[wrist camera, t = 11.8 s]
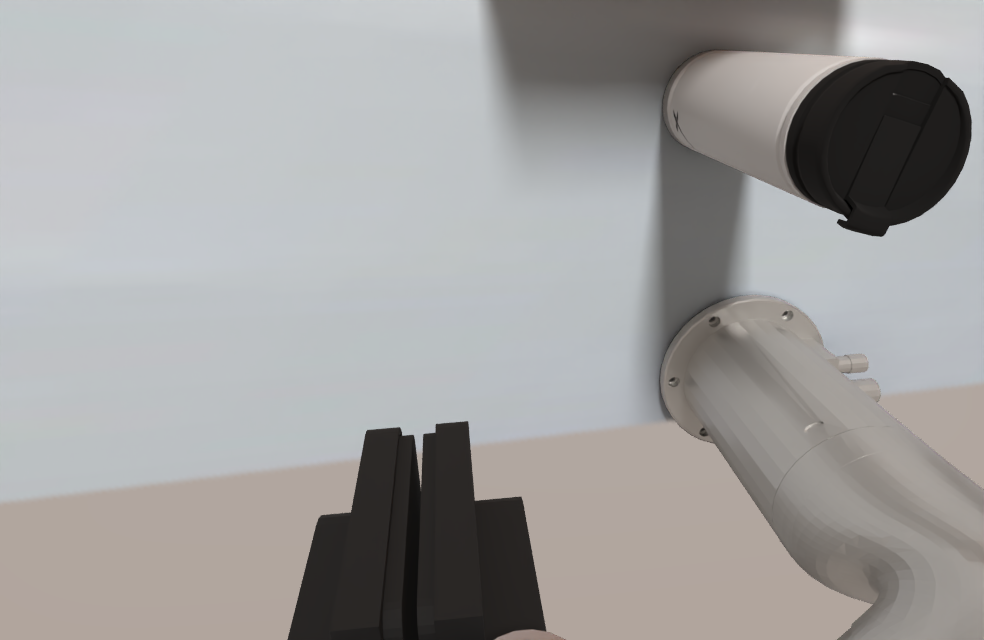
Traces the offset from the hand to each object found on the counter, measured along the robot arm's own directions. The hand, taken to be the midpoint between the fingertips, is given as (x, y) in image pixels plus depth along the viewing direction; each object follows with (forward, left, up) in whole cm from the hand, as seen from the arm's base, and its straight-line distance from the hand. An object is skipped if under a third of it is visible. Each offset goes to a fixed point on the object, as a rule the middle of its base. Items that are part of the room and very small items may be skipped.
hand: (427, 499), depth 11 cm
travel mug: (-18, -2, -35) cm, 40 cm away
